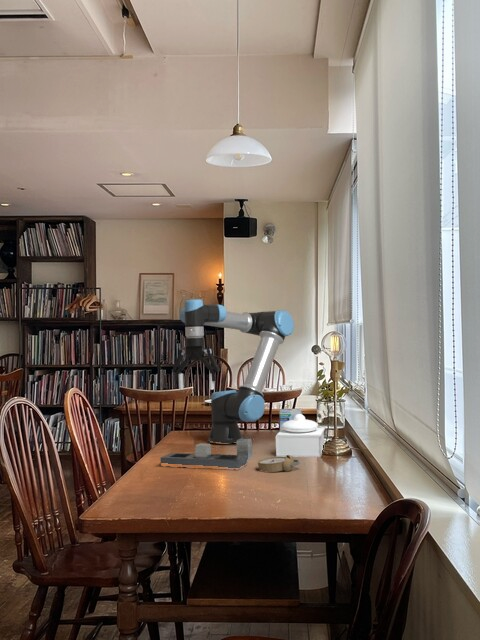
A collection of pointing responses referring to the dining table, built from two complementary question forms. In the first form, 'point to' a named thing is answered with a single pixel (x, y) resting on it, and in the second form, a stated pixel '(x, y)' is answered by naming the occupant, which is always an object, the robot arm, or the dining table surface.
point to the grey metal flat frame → (205, 460)
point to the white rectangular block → (244, 448)
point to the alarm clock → (277, 464)
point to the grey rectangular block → (203, 450)
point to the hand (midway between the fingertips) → (196, 389)
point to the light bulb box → (288, 415)
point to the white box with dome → (300, 438)
